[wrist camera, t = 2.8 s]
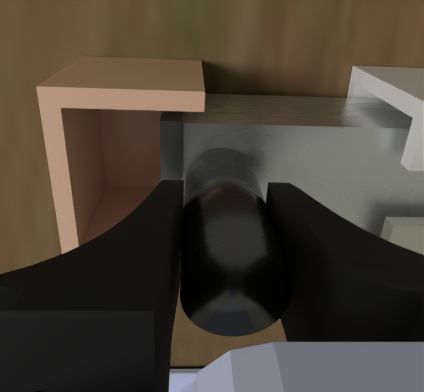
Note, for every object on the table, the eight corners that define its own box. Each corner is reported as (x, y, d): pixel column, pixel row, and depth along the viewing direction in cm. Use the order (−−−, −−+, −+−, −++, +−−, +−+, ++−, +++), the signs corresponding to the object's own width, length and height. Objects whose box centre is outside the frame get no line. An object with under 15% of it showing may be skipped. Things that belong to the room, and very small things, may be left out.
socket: (197, 193, 20) (199, 264, 15) (96, 192, 19) (63, 263, 14) (201, 60, 17) (204, 91, 12) (83, 56, 17) (36, 86, 12)
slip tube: (426, 188, 19) (624, 360, 10) (167, 183, 18) (145, 363, 10) (453, 99, 17) (726, 219, 8) (167, 90, 16) (137, 210, 8)
